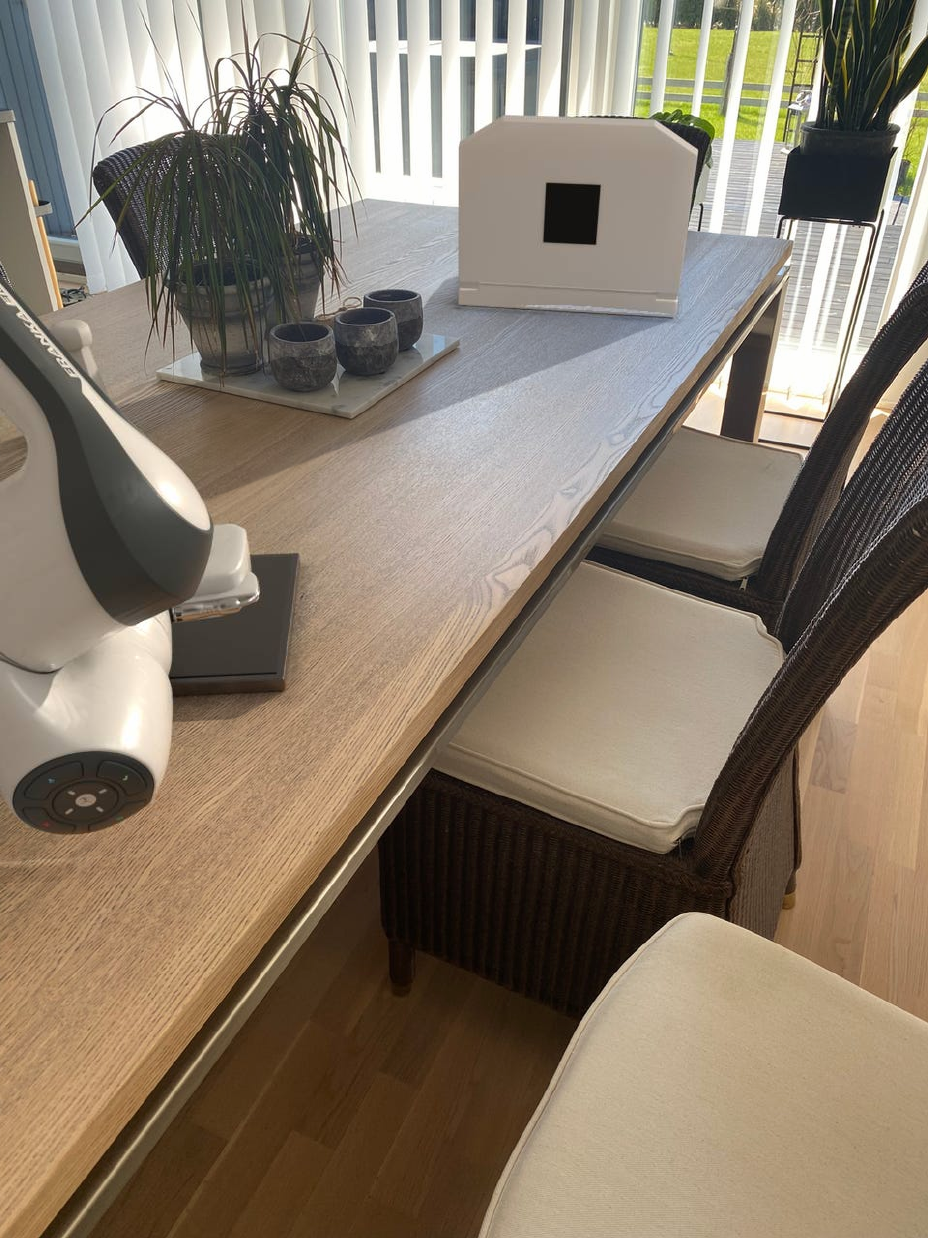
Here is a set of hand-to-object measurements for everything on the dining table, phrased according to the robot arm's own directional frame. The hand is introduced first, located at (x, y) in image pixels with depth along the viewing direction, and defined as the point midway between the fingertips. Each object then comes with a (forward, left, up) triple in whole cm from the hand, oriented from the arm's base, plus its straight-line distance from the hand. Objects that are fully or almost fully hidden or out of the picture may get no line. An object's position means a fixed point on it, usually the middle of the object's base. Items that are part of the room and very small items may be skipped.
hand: (110, 526), depth 73 cm
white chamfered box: (+52, +90, -9) cm, 105 cm away
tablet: (+6, -1, -9) cm, 11 cm away
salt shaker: (-12, +37, -9) cm, 40 cm away
